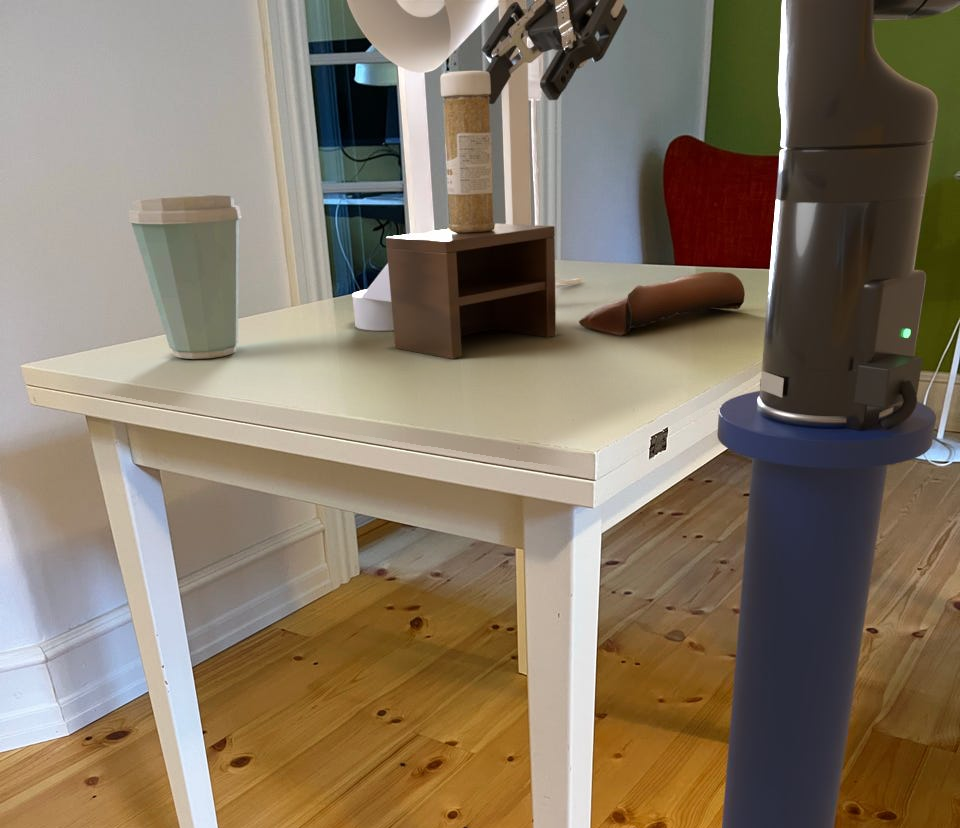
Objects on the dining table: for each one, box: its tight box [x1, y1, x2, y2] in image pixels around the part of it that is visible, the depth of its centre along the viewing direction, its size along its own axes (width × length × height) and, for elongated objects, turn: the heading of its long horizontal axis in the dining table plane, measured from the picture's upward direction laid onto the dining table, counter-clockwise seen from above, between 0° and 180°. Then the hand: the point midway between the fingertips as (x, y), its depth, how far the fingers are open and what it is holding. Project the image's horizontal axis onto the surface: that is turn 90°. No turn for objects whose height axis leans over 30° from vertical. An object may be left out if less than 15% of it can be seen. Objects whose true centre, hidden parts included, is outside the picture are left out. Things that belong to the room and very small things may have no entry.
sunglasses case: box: [578, 271, 746, 337], centre depth 105 cm, size 18×7×7 cm, turn 129°
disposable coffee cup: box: [128, 194, 243, 360], centre depth 98 cm, size 11×11×15 cm
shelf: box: [385, 222, 557, 360], centre depth 98 cm, size 9×14×10 cm, turn 132°
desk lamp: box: [346, 0, 582, 286], centre depth 114 cm, size 21×32×45 cm, turn 137°
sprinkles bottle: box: [439, 70, 495, 233], centre depth 93 cm, size 5×5×13 cm
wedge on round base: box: [352, 262, 394, 332], centre depth 109 cm, size 9×7×13 cm
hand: (514, 95), depth 93 cm, fingers open, 8 cm apart
